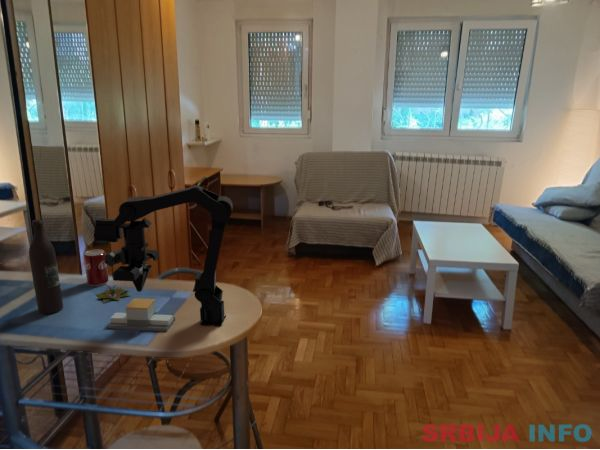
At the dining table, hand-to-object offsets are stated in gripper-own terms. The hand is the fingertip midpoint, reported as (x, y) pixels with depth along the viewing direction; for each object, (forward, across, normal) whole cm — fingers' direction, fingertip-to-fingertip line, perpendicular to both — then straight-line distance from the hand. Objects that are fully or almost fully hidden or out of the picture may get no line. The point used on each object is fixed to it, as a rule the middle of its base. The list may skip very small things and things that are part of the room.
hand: (139, 291), depth 130 cm
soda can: (+11, -28, -29) cm, 42 cm away
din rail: (+11, 0, 0) cm, 11 cm away
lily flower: (+12, -18, -18) cm, 28 cm away
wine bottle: (+11, -6, -33) cm, 35 cm away
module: (+10, 0, 0) cm, 10 cm away
